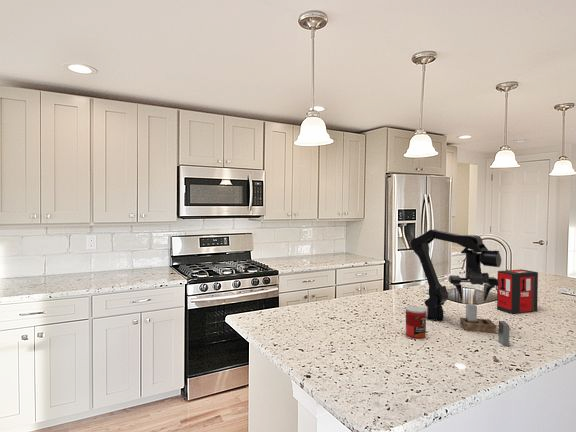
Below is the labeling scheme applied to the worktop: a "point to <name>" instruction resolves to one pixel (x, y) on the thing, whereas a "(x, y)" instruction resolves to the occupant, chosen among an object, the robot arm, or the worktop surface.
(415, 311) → the canned food
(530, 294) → the cleaning product box
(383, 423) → the worktop surface
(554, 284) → the worktop surface
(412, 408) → the worktop surface
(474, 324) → the brown wooden slotted frame
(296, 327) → the worktop surface
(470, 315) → the square bit
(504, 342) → the grey rectangular block
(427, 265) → the robot arm
